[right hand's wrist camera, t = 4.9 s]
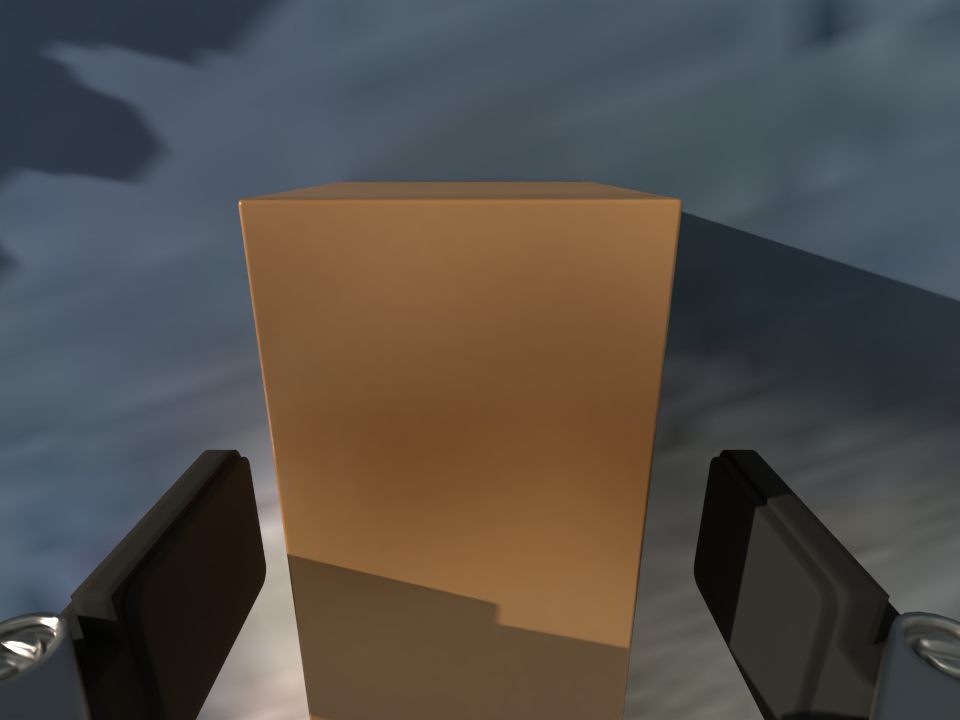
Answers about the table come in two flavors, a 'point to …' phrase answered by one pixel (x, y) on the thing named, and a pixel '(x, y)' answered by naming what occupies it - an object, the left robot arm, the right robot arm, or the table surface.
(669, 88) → the table surface
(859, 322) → the table surface
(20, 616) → the right robot arm
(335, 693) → the beam
